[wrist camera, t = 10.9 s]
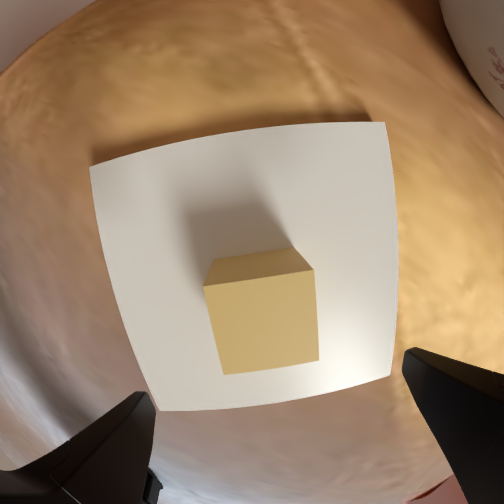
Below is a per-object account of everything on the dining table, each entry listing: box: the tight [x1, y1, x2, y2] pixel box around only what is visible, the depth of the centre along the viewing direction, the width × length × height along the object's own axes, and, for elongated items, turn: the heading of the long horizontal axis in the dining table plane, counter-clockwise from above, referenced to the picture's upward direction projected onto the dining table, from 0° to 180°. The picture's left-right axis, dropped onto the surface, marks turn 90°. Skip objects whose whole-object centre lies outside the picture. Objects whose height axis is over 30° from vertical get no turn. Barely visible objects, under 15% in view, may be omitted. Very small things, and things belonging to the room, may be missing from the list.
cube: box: [203, 247, 319, 375], centre depth 15 cm, size 5×5×5 cm
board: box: [89, 122, 399, 411], centre depth 18 cm, size 20×20×2 cm
